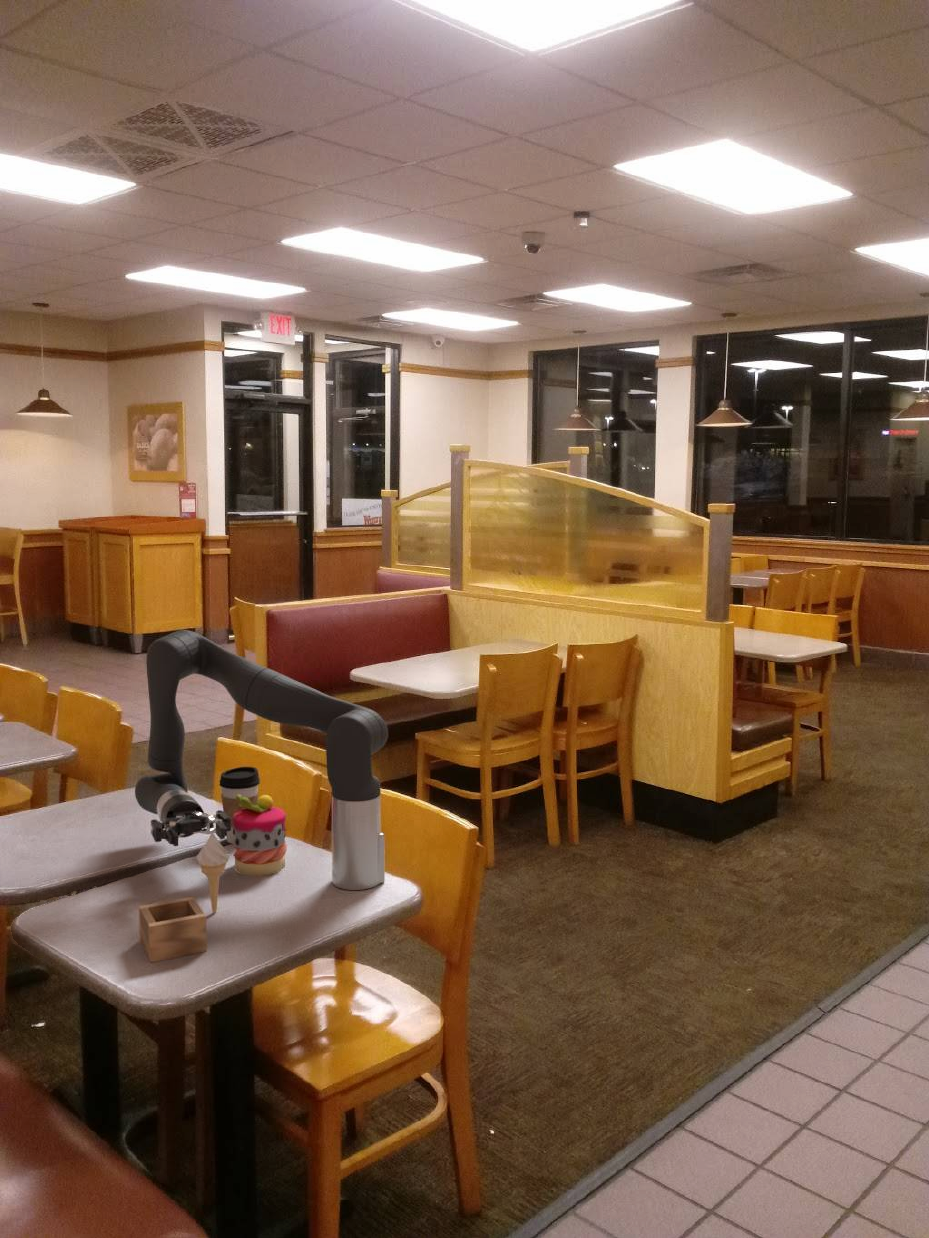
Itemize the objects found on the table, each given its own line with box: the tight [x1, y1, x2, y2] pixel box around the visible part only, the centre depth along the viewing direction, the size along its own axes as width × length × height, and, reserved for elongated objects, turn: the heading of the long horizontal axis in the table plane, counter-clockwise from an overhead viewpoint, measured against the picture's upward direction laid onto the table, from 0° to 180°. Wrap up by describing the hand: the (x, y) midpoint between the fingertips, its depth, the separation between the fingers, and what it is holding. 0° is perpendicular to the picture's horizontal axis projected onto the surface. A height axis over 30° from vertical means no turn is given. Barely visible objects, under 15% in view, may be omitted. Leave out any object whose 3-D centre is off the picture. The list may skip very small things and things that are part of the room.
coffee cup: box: [218, 766, 261, 845], centre depth 221 cm, size 8×8×15 cm
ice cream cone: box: [196, 832, 230, 914], centre depth 184 cm, size 6×6×15 cm
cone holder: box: [138, 896, 208, 963], centre depth 171 cm, size 9×9×6 cm
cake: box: [232, 794, 288, 877], centre depth 206 cm, size 10×11×15 cm
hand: (200, 837), depth 191 cm, fingers open, 8 cm apart
